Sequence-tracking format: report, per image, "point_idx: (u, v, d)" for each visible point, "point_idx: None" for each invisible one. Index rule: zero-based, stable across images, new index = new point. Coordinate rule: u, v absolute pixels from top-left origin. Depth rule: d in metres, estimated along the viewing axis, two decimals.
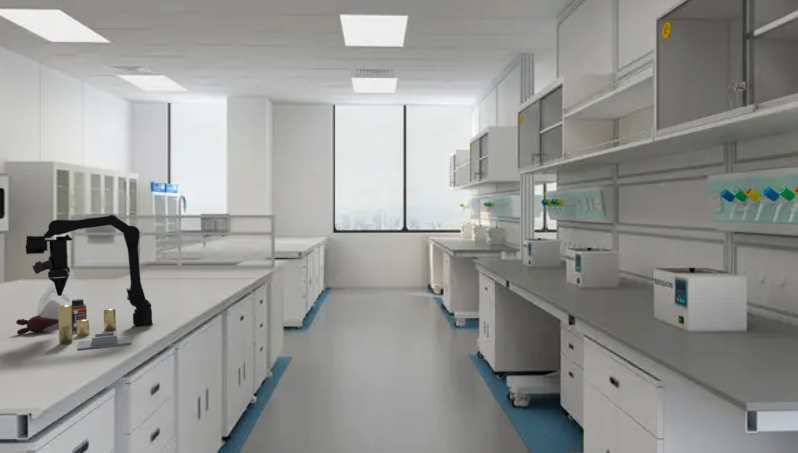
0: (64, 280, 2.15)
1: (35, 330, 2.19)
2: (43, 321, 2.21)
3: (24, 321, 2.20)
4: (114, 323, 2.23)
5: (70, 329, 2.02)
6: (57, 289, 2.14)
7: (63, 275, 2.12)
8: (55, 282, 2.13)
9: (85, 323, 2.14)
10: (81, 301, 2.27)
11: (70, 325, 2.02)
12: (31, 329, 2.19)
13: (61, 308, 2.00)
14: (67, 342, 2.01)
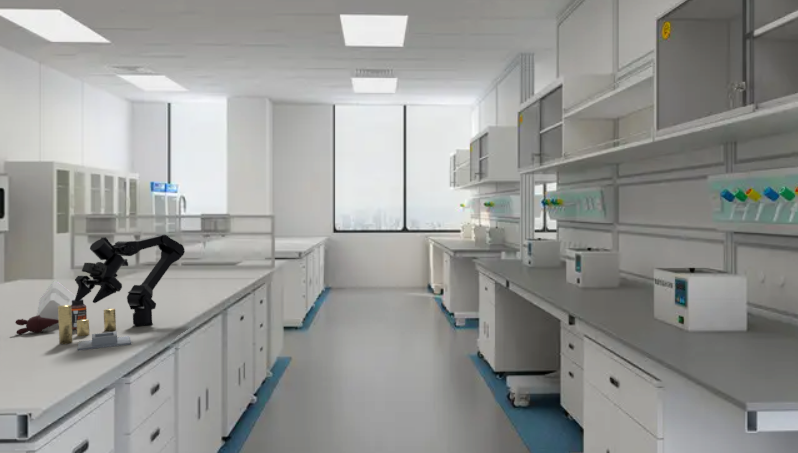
0: (110, 292, 2.11)
1: (34, 330, 2.19)
2: (43, 322, 2.20)
3: (23, 321, 2.19)
4: (114, 323, 2.23)
5: (70, 329, 2.02)
6: (98, 296, 2.08)
7: (118, 288, 2.11)
8: (103, 289, 2.09)
9: (85, 323, 2.14)
10: (81, 301, 2.27)
11: (70, 325, 2.02)
12: (30, 329, 2.19)
13: (61, 308, 2.00)
14: (67, 342, 2.01)
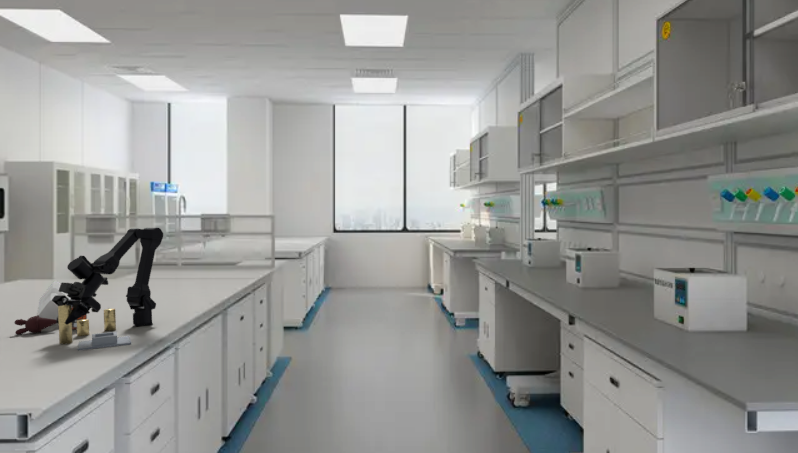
0: (83, 313, 2.04)
1: (33, 330, 2.19)
2: (41, 322, 2.20)
3: (22, 321, 2.19)
4: (114, 323, 2.23)
5: (70, 329, 2.02)
6: (71, 317, 2.01)
7: (97, 309, 2.03)
8: (76, 310, 2.02)
9: (85, 323, 2.14)
10: None
11: (70, 325, 2.02)
12: (29, 329, 2.18)
13: (61, 308, 2.00)
14: (67, 342, 2.01)
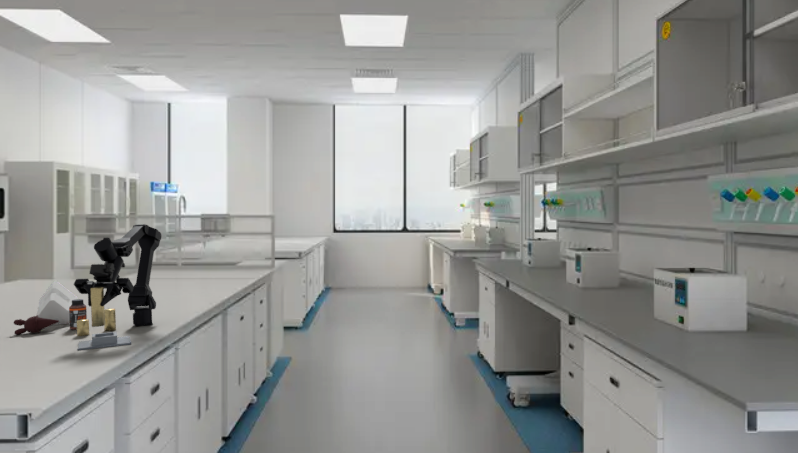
0: (115, 295, 2.03)
1: (32, 330, 2.19)
2: (40, 322, 2.20)
3: (21, 321, 2.19)
4: (114, 323, 2.23)
5: None
6: (106, 298, 1.99)
7: (131, 289, 2.05)
8: (110, 291, 2.01)
9: (85, 323, 2.14)
10: (81, 301, 2.27)
11: (103, 307, 2.00)
12: (28, 329, 2.18)
13: (96, 290, 1.97)
14: (102, 324, 1.99)
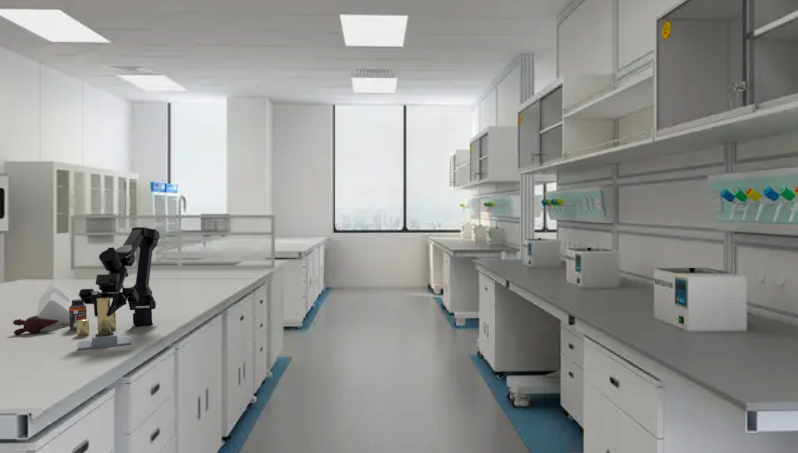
0: (120, 304, 2.04)
1: (31, 331, 2.18)
2: (40, 322, 2.20)
3: (21, 321, 2.19)
4: (114, 323, 2.23)
5: (110, 321, 2.00)
6: (112, 308, 2.00)
7: (137, 299, 2.05)
8: (116, 301, 2.01)
9: (85, 323, 2.14)
10: (81, 301, 2.27)
11: None
12: (27, 329, 2.18)
13: (103, 300, 1.98)
14: (108, 334, 1.99)
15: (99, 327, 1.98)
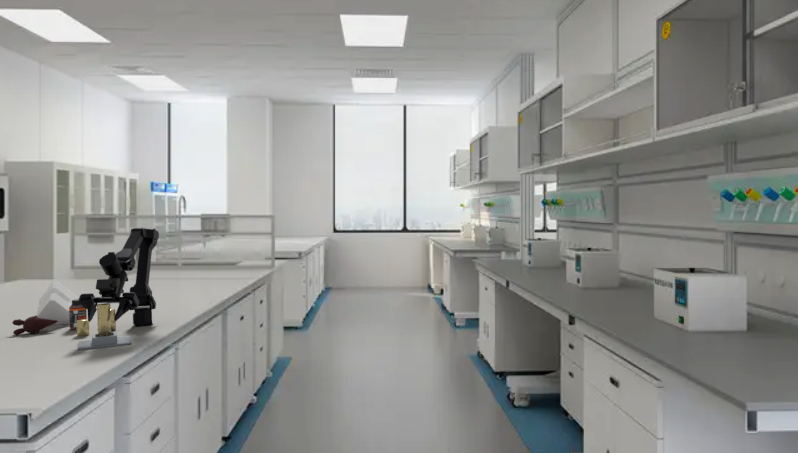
0: (127, 309, 2.04)
1: (31, 331, 2.18)
2: (39, 322, 2.20)
3: (20, 321, 2.19)
4: (114, 323, 2.23)
5: (110, 327, 2.00)
6: (119, 313, 2.00)
7: (137, 304, 2.05)
8: (123, 305, 2.01)
9: (85, 323, 2.14)
10: None
11: (110, 323, 2.00)
12: (27, 330, 2.18)
13: (103, 306, 1.98)
14: None
15: (99, 333, 1.98)
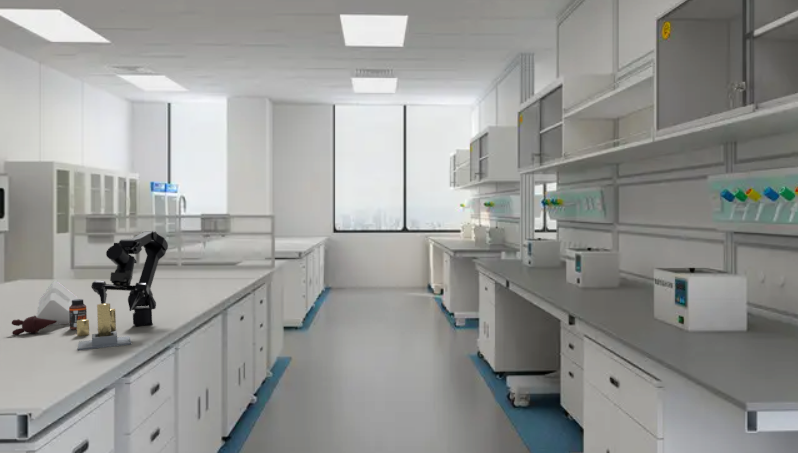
0: (139, 297, 2.16)
1: (30, 331, 2.18)
2: (38, 322, 2.19)
3: (19, 322, 2.19)
4: (114, 323, 2.23)
5: (110, 327, 2.00)
6: (133, 303, 2.13)
7: (148, 292, 2.18)
8: None
9: (85, 323, 2.14)
10: (81, 301, 2.27)
11: (110, 323, 2.00)
12: (26, 330, 2.18)
13: (103, 306, 1.98)
14: None
15: (99, 333, 1.98)
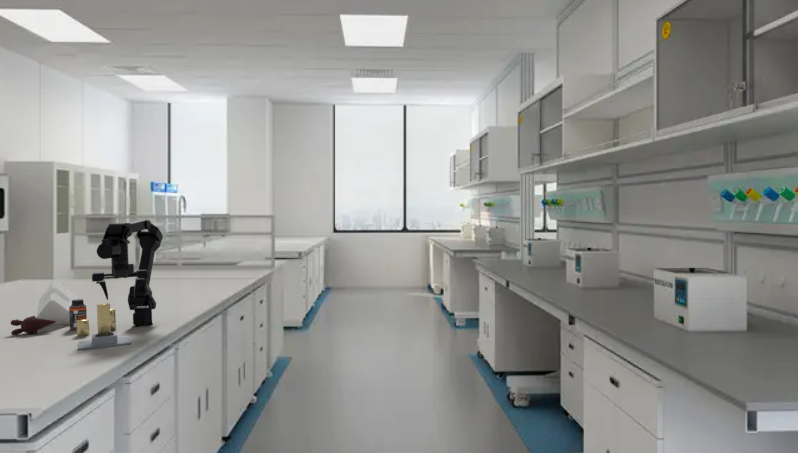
0: None
1: (28, 331, 2.18)
2: (37, 322, 2.19)
3: (18, 322, 2.19)
4: (114, 323, 2.23)
5: (110, 327, 2.00)
6: (137, 290, 2.18)
7: None
8: None
9: (85, 323, 2.14)
10: (81, 301, 2.27)
11: (110, 323, 2.00)
12: (25, 330, 2.18)
13: (103, 306, 1.98)
14: None
15: (99, 333, 1.98)
